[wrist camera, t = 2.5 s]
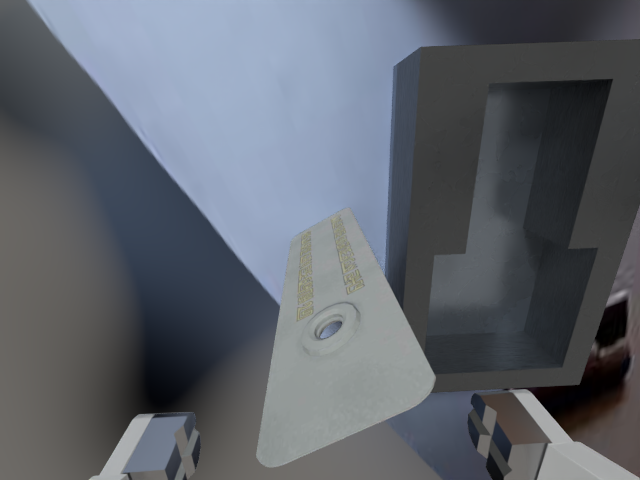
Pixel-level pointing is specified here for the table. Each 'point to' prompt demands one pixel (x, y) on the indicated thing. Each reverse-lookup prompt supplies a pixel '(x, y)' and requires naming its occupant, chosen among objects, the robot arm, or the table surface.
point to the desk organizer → (511, 204)
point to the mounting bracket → (337, 346)
